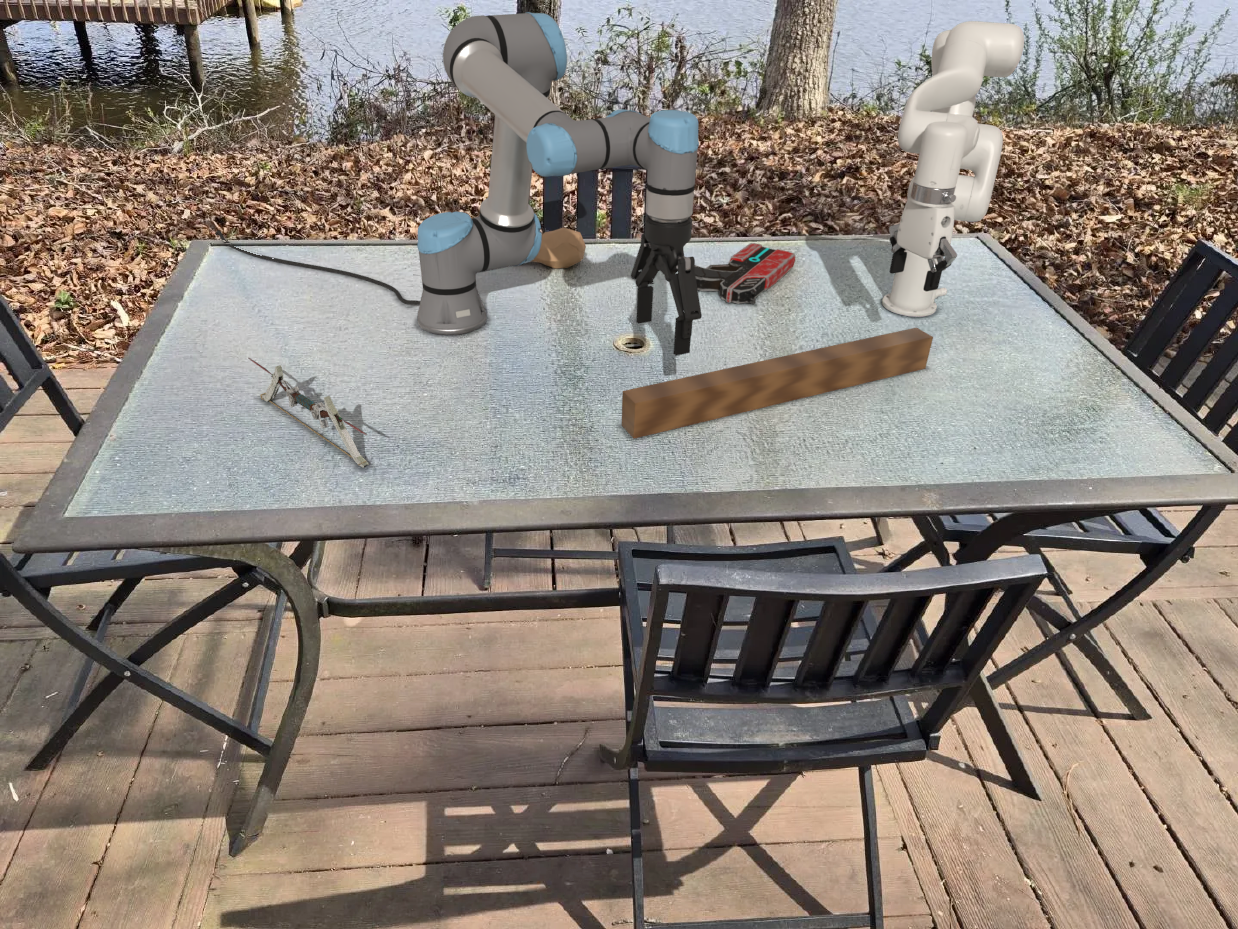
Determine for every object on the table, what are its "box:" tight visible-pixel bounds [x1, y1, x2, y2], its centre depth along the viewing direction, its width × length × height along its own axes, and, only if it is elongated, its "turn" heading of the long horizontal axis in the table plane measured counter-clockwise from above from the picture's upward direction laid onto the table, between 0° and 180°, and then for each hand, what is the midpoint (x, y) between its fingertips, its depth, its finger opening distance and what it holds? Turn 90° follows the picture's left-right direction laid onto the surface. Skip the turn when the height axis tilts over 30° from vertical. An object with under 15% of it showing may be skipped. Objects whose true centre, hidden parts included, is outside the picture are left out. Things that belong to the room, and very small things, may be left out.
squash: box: [531, 227, 587, 269], centre depth 226 cm, size 11×20×9 cm, turn 90°
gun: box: [695, 242, 796, 305], centre depth 221 cm, size 4×31×19 cm
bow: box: [247, 356, 370, 468], centre depth 154 cm, size 39×2×10 cm, turn 47°
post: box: [621, 327, 934, 439], centre depth 170 cm, size 69×5×7 cm, turn 116°
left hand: (662, 337), depth 152 cm, fingers open, 13 cm apart
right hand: (912, 280), depth 172 cm, fingers open, 9 cm apart
